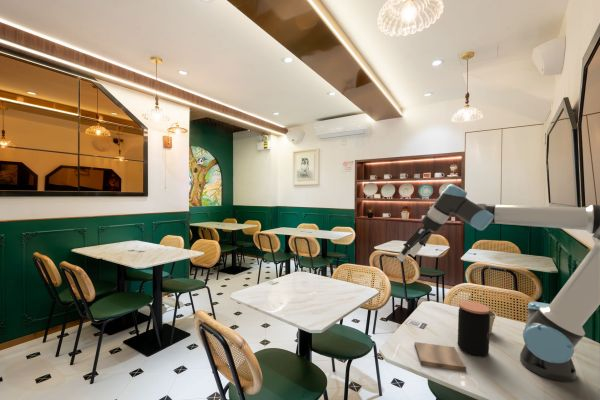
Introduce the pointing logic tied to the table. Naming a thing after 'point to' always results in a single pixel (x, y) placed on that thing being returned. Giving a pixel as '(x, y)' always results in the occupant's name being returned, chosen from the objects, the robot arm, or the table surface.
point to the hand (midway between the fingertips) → (405, 257)
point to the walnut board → (439, 356)
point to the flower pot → (491, 320)
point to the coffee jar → (473, 328)
